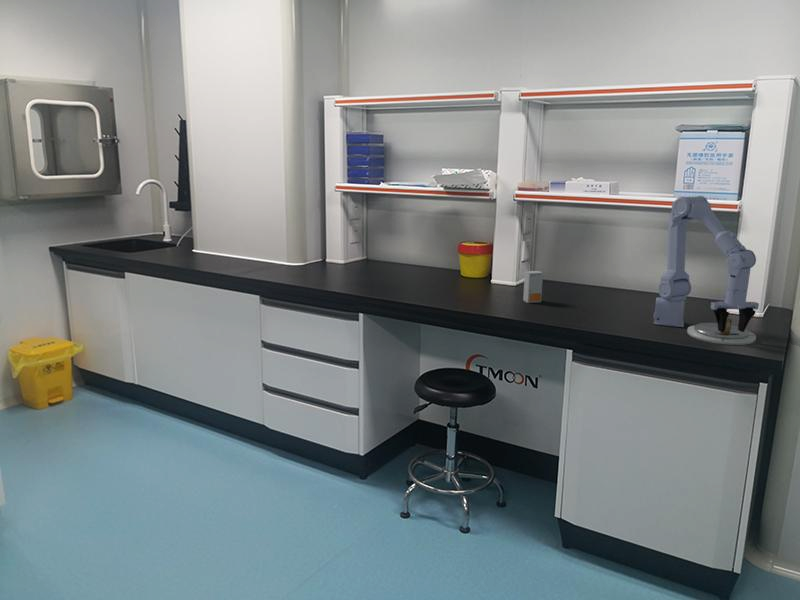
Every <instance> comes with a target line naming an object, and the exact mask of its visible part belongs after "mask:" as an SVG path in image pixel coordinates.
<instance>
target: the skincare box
mask: <svg viewBox="0 0 800 600" xmlns="http://www.w3.org/2000/svg"><path fill="white" fill-rule="evenodd" d="M543 278H544V272H542V271H539V270H530V271H529V270H527V271H524V280H523V297H522V298H523V299H522V301H523V302H525V303H527V304H530V303H531V304H532V303H541V302H542V295H543V281H544V280H543Z"/></svg>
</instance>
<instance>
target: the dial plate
mask: <svg viewBox="0 0 800 600" xmlns="http://www.w3.org/2000/svg"><path fill="white" fill-rule="evenodd" d="M695 325H696V324H694V325H690V326H688V327H687V330H686V333H687V335H688V336H689V337H691V338H693V339H696V340H698V341H703V342H705V343H711V344H717V345H726V346H747V345H751V344H754V343H755V342H756V339H757V335H756V334H755V333H754V332H751V331H749V330H748V331H749V336H748V337H746V338H740V339H726V338H717V337H712V336H707V335H704V334H701V333H698V332H696V331H695V330H694V326H695Z"/></svg>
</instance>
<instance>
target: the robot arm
mask: <svg viewBox="0 0 800 600" xmlns="http://www.w3.org/2000/svg"><path fill="white" fill-rule="evenodd" d="M694 219H696V220H699V221H700V222H701V223H702V224H703V225H704V226H705V227H706V229H708V230H709V232H710V233H712V235H713V236H714V238H715V239H714V243H715V245H716V246H717V247H718V249H719V250H720V251H721V253H722V254H723V255H724V257H725V258H726V260H725V262H726V266H727V269H728V270H727V273H728V278H727V286H726V291H725V298H724V300H723V301H715V302H714V301H711V303H710V309H711V310H712V311H713V313H714V316H715V318H716V323H717V324H718V331H720V332H724V330H725V325H726V320H727V318H728V317H729V314H730V312H729V311H727V310H738V313H739V314H738V325H737V326H738V330H739V331H741V332H744V331H745V329H746V328H747V326H748V325H749V322H750V321H751V320H752V318H753V317H754V316H755V315H756V310H759V305H760V303H759V302H756V301H747V295H748V289H749V281H750V274H751V268H753V267H754V266H755V265H756V262H757V256H756V255H755V253H754V251H753V250H751V249H747V248H746V247H745V245H743V244H742V242H740V240H739V239H738V238H737V236H738V235H737V234H736V233H735V232H733V231H729V230H726V228H725V227H724V226H723V224H722V223H721V221H720V220H719V219H718V217H717V215H716V214H715V212H714V211H713V210H712V204H711V203H710V202H709V201H708V199H707V198H706V197H705V196H703V195H698V196H679V197H677V198H676V199H675V200H674V201H673V202H672V203H671V212H670V215H669V218H668V235H667V240H668V241H667V263H666V265H667V266H666V267H667V269H666V271H665V272H664V273H663V274H662V275H661V276H660V282H659V284H658V287H657V290H658V294H659V296H660V297H655V298H656V299H655V309H654V312H653V317H652V318H653V324H654V325H657V326H668V327H680V328H684V327H685V326H684V325H685V323H684V322H685V321H684V320H683V319H684V313H685V311H684V310H685V304H686V303H685V302H686V299H687V298H688V297H687V296H688V295H690V293H691V291H692V285H691V282H690V275H689V274H688V273H687V271H685V268H686V247H687V246H686V244H687V243H686V242H687V240H686V238H687V225H688V224H689V223H690V222H691V221H693V220H694Z"/></svg>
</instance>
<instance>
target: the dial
mask: <svg viewBox="0 0 800 600" xmlns="http://www.w3.org/2000/svg"><path fill="white" fill-rule="evenodd" d="M694 325H695V326H694V330H695V331H696V332H698V333H701V334H704V335H707V336H712V337H717V338H726V339H740V338H746V337H748V336H749V330H748V329H746V328H745V331H744V332H741V331H739V330H738V325H733V324H732V318H728V317H727V320H726V325H725V330H724V332H720V331H718V324H717V322H702V323H697V324H694Z"/></svg>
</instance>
